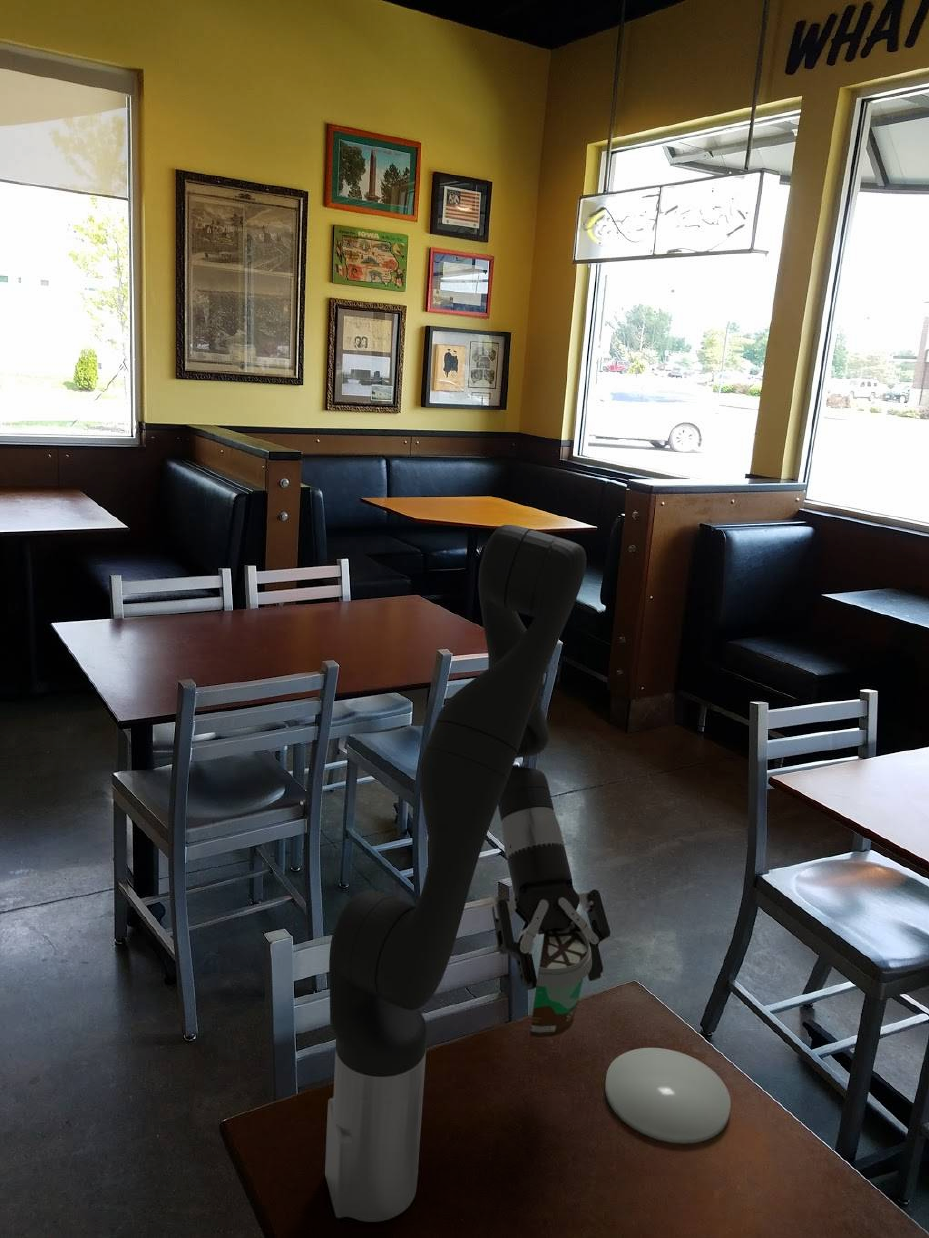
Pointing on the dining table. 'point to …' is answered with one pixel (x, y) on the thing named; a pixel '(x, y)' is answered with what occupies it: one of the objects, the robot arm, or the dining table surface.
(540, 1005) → the food container
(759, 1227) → the dining table surface
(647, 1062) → the serving plate
